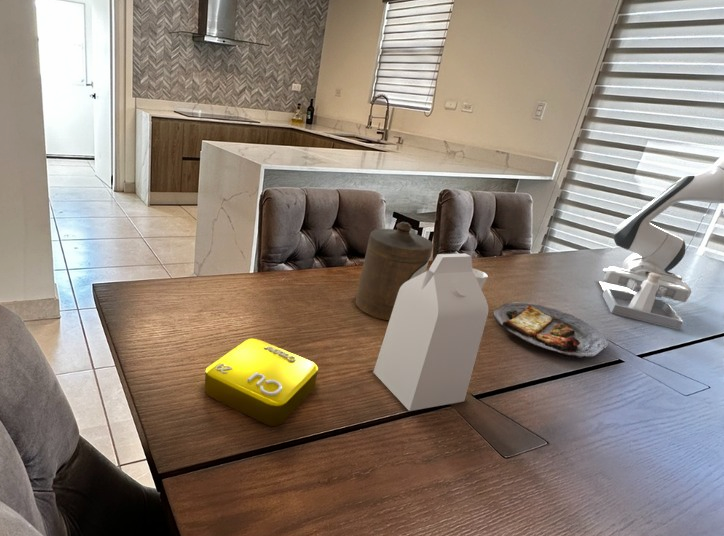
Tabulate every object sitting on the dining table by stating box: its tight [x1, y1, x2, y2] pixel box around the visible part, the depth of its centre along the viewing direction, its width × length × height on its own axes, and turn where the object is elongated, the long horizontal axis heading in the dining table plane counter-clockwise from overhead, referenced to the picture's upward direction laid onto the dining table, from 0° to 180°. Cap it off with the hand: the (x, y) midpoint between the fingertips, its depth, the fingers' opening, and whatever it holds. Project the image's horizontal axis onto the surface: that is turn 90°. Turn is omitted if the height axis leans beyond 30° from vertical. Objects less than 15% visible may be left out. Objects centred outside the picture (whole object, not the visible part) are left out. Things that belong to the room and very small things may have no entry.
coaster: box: [598, 281, 636, 294], centre depth 147 cm, size 10×10×1 cm
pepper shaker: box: [628, 273, 662, 312], centre depth 131 cm, size 5×5×11 cm
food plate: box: [492, 301, 610, 359], centre depth 113 cm, size 25×23×4 cm
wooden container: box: [355, 221, 434, 321], centre depth 113 cm, size 15×15×22 cm
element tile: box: [204, 337, 319, 427], centre depth 80 cm, size 15×15×5 cm
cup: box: [472, 268, 489, 291], centre depth 127 cm, size 7×10×8 cm
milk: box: [372, 252, 489, 412], centre depth 82 cm, size 12×12×26 cm
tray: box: [602, 288, 684, 331], centre depth 133 cm, size 16×15×3 cm
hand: (648, 291), depth 131 cm, fingers closed on pepper shaker, 4 cm apart
